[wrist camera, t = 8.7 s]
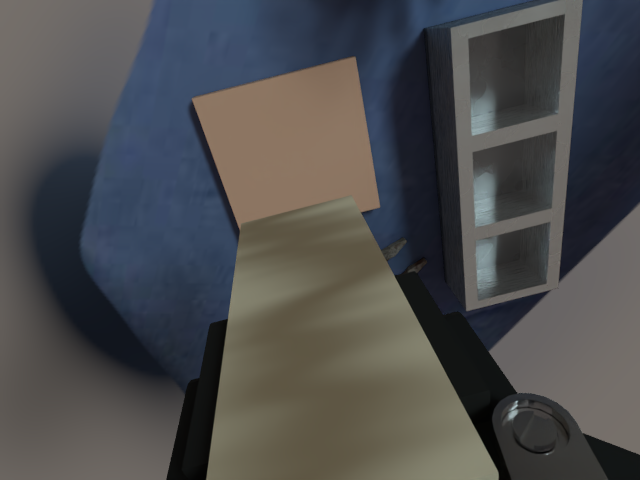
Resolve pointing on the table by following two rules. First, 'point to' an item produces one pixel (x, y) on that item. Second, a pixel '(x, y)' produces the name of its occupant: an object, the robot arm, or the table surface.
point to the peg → (332, 364)
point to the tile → (291, 140)
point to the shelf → (503, 145)
